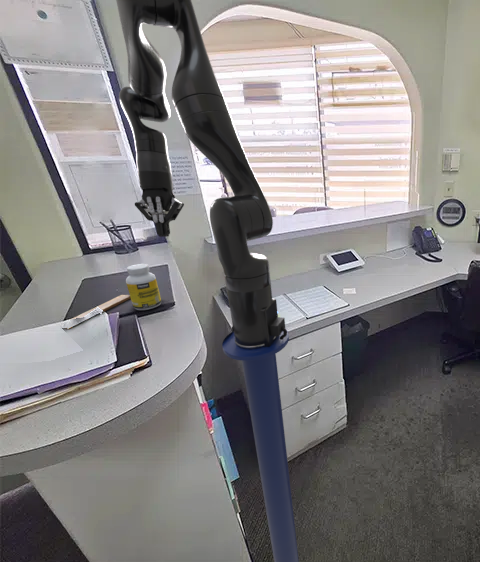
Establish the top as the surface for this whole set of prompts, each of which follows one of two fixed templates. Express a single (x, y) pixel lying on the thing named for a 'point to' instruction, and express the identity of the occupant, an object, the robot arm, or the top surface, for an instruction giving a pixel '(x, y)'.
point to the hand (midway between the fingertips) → (163, 236)
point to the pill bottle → (142, 287)
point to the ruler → (107, 305)
